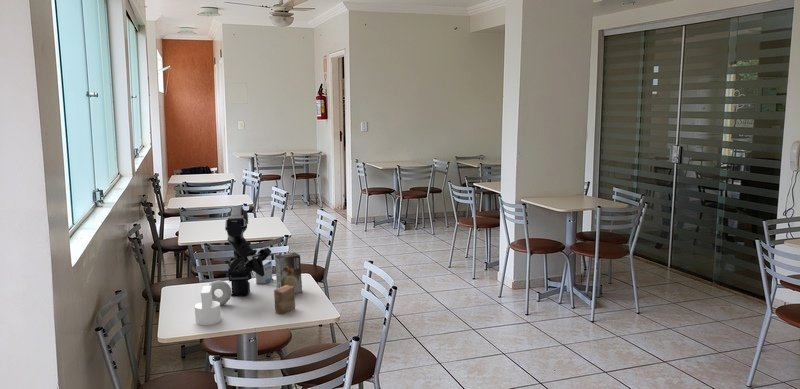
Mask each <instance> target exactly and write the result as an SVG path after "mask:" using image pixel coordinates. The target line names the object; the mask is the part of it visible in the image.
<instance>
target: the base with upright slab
mask: <svg viewBox="0 0 800 389" xmlns="http://www.w3.org/2000/svg"><path fill="white" fill-rule="evenodd" d="M208 285H209V284H208ZM208 285H203V286H202V289H201V292H200V296H201V297H200V298H201V299H200V300H201V301H200V302H197V303H196V304H195V305H194V318H195V323H196V325H200V326H210V325H214V324H217V323H219V322H220V321H221V320H222V314H221V305H220V303H219V302H217V301H213V299H212V285H209V286H208Z"/></svg>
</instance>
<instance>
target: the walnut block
mask: <svg viewBox="0 0 800 389" xmlns="http://www.w3.org/2000/svg"><path fill="white" fill-rule="evenodd" d="M273 294H274V295H273V296H274V313H275V314H277V315H286V314H288V313H290V312H292V311H294V310H296V298H295V297H296V296H295V294H296V293H295V292H294V286H288V285H285V286H283V287H281V288H278V289H277V288H276V289H274V291H273Z"/></svg>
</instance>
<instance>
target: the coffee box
mask: <svg viewBox="0 0 800 389" xmlns="http://www.w3.org/2000/svg"><path fill="white" fill-rule="evenodd" d="M274 261H275V262H274V263H275V276H276V277H275V278H276V279H275V280H276V289H278V288H281V287H283V286H285V285H288V286H294V292H295V294H298V293H302V292H303V283H302V269H301V267H302V265H301V264H302V263H301V255H300V254H298V253H297V252H295V251H294V252H287V253H281V254H275V255H274Z"/></svg>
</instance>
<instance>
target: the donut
mask: <svg viewBox="0 0 800 389" xmlns="http://www.w3.org/2000/svg"><path fill="white" fill-rule="evenodd" d="M209 285H212V299H213V301H217V302H219V303H220V306H223V305H225V304H226V303H228V302H229V301H230V299H231V297H232V296H231V294H232V287H231V286H230V284H228V283H227V282H226V281H224V280H213V281H212V282H210V283H209V284H208V285H207V286H209ZM216 290H221V291H222V294H221V296H217V295H215V291H216Z"/></svg>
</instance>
